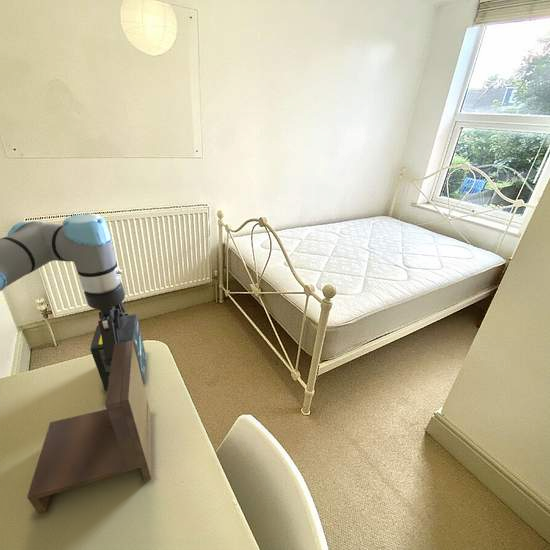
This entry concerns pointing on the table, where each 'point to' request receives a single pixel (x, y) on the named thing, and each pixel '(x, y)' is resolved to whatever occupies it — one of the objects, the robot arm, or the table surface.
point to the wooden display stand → (98, 436)
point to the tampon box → (126, 333)
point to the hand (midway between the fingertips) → (123, 357)
